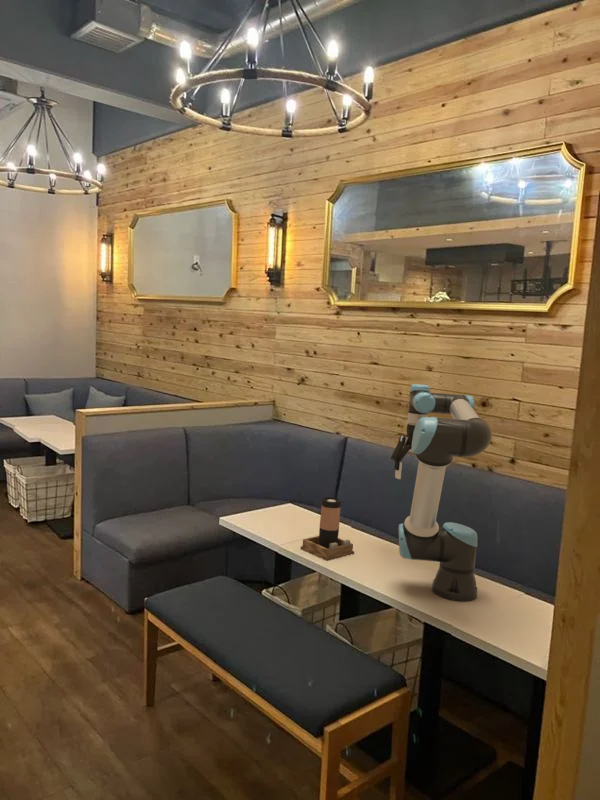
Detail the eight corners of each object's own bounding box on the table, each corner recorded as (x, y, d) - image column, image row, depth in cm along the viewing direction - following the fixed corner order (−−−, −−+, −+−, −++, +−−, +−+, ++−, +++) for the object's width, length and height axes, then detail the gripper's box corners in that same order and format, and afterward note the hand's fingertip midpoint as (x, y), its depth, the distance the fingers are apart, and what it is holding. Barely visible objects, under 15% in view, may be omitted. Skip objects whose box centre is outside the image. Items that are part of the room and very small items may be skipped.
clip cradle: (354, 553, 247) (355, 539, 246) (326, 560, 237) (327, 546, 237) (327, 542, 258) (328, 529, 258) (300, 548, 248) (301, 534, 248)
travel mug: (314, 549, 246) (318, 499, 244) (322, 544, 253) (326, 495, 251) (332, 553, 243) (336, 503, 240) (340, 548, 249) (344, 499, 247)
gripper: (435, 422, 253) (430, 474, 255) (384, 422, 241) (380, 476, 243) (448, 425, 246) (442, 478, 248) (396, 425, 235) (391, 481, 237)
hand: (411, 477), depth 246 cm, fingers open, 13 cm apart
